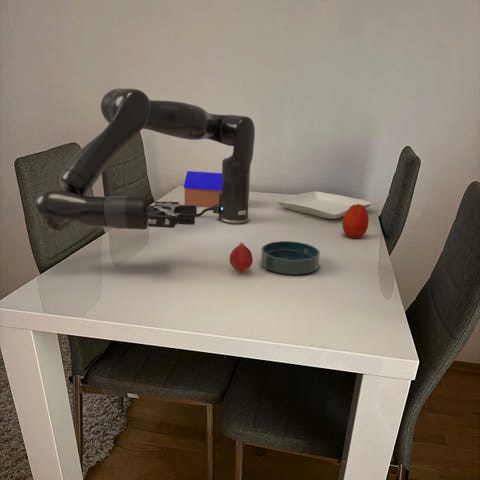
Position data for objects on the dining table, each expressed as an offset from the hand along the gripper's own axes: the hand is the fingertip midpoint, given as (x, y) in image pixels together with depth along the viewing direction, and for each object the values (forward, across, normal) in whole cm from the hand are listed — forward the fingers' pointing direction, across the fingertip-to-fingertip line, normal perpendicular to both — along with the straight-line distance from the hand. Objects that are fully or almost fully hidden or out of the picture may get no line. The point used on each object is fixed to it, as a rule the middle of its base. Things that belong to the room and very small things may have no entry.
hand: (195, 214), depth 108 cm
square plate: (+46, +65, +14) cm, 81 cm away
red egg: (+49, +33, +14) cm, 61 cm away
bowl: (+24, +6, +14) cm, 29 cm away
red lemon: (+11, 0, +15) cm, 19 cm away
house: (+4, +71, +14) cm, 72 cm away
